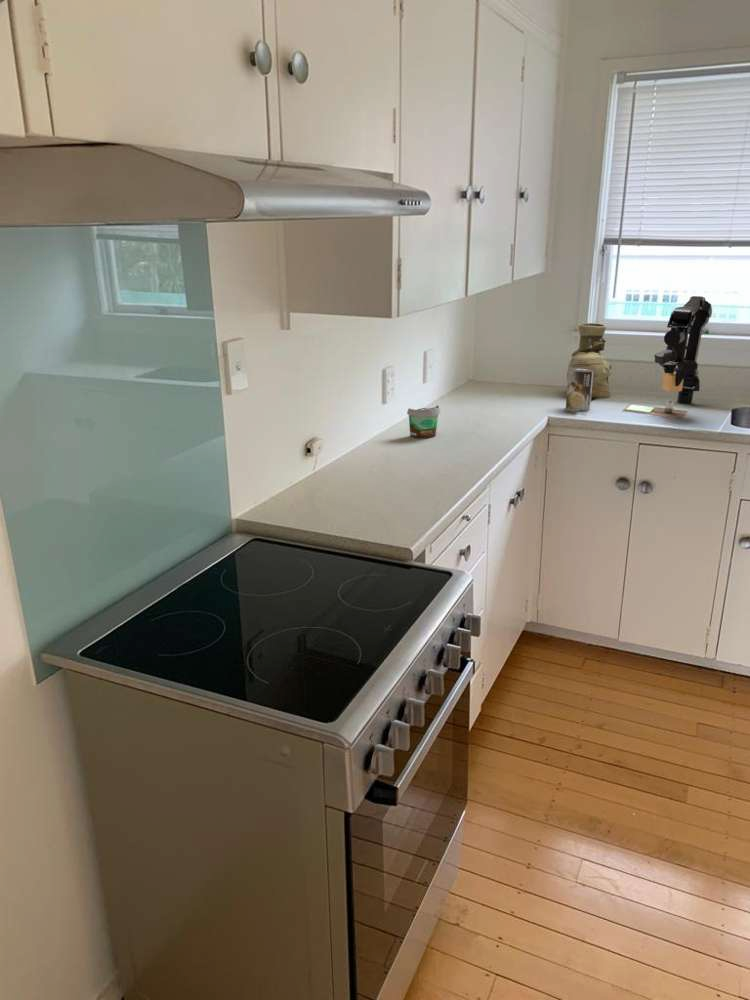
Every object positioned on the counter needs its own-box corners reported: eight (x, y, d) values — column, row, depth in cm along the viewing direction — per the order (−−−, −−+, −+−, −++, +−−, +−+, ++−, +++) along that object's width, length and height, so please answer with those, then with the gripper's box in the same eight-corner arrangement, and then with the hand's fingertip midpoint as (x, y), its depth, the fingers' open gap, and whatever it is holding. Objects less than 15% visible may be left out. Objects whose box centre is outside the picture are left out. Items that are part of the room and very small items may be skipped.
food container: (415, 441, 252) (416, 412, 248) (406, 436, 257) (407, 408, 253) (446, 436, 257) (447, 408, 254) (436, 432, 262) (437, 404, 259)
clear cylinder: (665, 411, 289) (666, 400, 288) (673, 412, 288) (674, 401, 286) (663, 413, 287) (665, 401, 285) (671, 414, 285) (673, 402, 284)
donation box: (661, 388, 286) (663, 372, 284) (673, 388, 287) (675, 372, 285) (669, 391, 281) (672, 375, 279) (681, 391, 282) (684, 374, 280)
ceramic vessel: (622, 395, 320) (631, 324, 309) (596, 403, 306) (604, 329, 295) (582, 388, 332) (590, 320, 322) (556, 395, 319) (563, 324, 308)
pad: (631, 405, 298) (631, 404, 298) (654, 408, 294) (654, 407, 294) (625, 410, 291) (625, 409, 291) (649, 413, 287) (649, 412, 287)
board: (629, 406, 301) (630, 404, 301) (687, 413, 291) (688, 411, 290) (621, 413, 290) (621, 411, 289) (681, 421, 279) (681, 418, 279)
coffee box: (590, 409, 295) (595, 369, 290) (588, 413, 290) (593, 372, 284) (566, 407, 299) (570, 367, 293) (564, 411, 293) (568, 370, 287)
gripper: (645, 340, 285) (639, 380, 290) (674, 347, 268) (668, 390, 273) (670, 339, 287) (664, 379, 293) (701, 346, 270) (695, 389, 276)
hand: (672, 384), depth 283 cm, fingers closed on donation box, 5 cm apart
